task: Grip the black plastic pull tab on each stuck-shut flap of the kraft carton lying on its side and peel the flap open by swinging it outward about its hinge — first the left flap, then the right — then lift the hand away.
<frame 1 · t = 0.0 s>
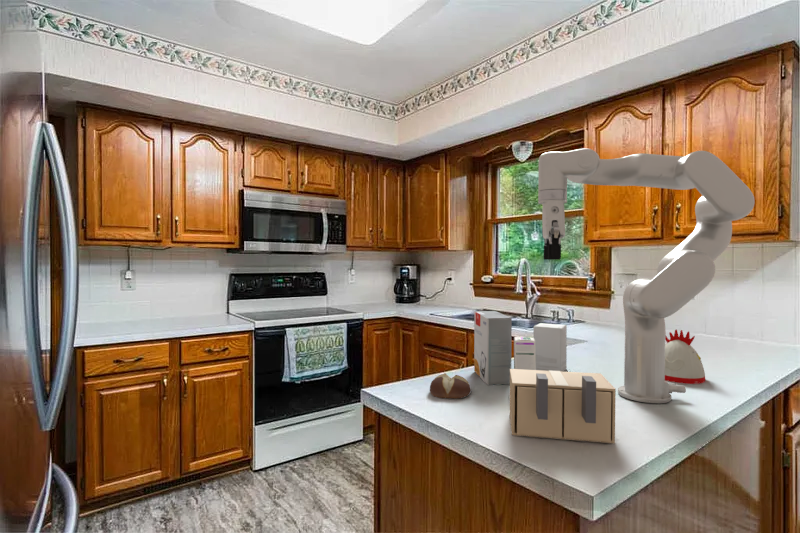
hand: (551, 259, 122), 37 cm above the countertop, tool pointing down, fingers open, 9 cm apart
supplement box: (550, 370, 145), on the countertop
carton: (557, 428, 95), on the countertop
syrup box: (524, 390, 124), on the countertop
flap right: (589, 411, 86), point 7 cm above the countertop, hinge at 0.0°
flap left: (540, 407, 88), point 7 cm above the countertop, hinge at 0.0°
hard drive box: (491, 378, 136), on the countertop
kitchen timer: (678, 378, 137), on the countertop
bread: (451, 394, 120), on the countertop
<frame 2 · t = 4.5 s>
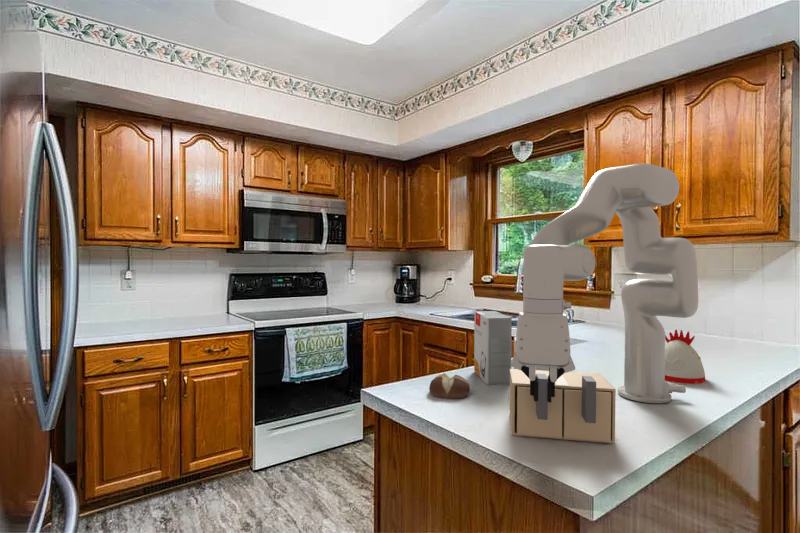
hand: (542, 399, 87), 9 cm above the countertop, tool pointing down, fingers closed on flap left, 2 cm apart
flap left: (540, 407, 88), point 7 cm above the countertop, hinge at 0.4°, touching gripper
everything else where it was.
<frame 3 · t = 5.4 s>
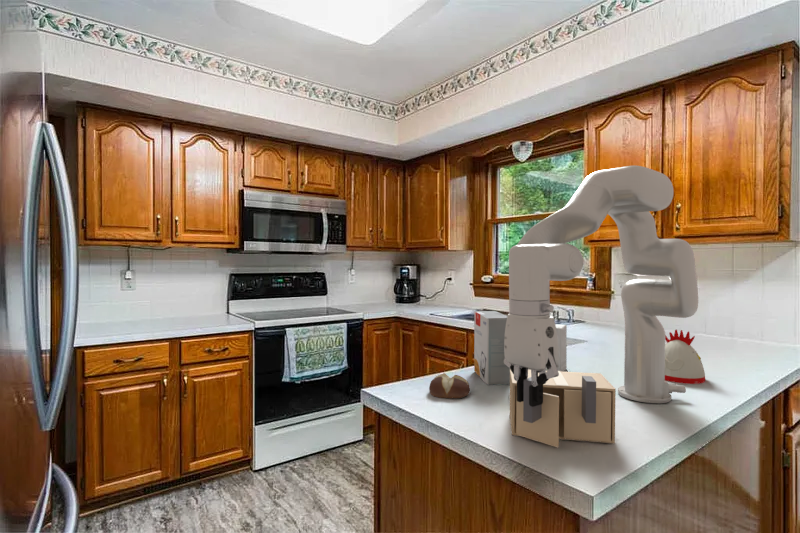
hand: (529, 401, 85), 9 cm above the countertop, tool pointing down, fingers closed on flap left, 2 cm apart
flap left: (532, 410, 86), point 7 cm above the countertop, hinge at 32.2°, touching gripper
everything else where it was.
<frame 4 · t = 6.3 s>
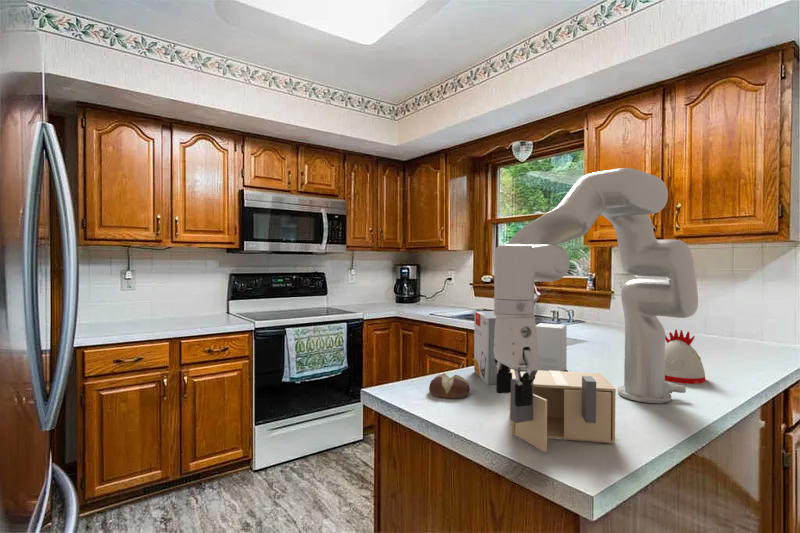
hand: (513, 398, 85), 10 cm above the countertop, tool pointing down, fingers open, 7 cm apart
flap left: (522, 411, 86), point 7 cm above the countertop, hinge at 55.7°
everything else where it was.
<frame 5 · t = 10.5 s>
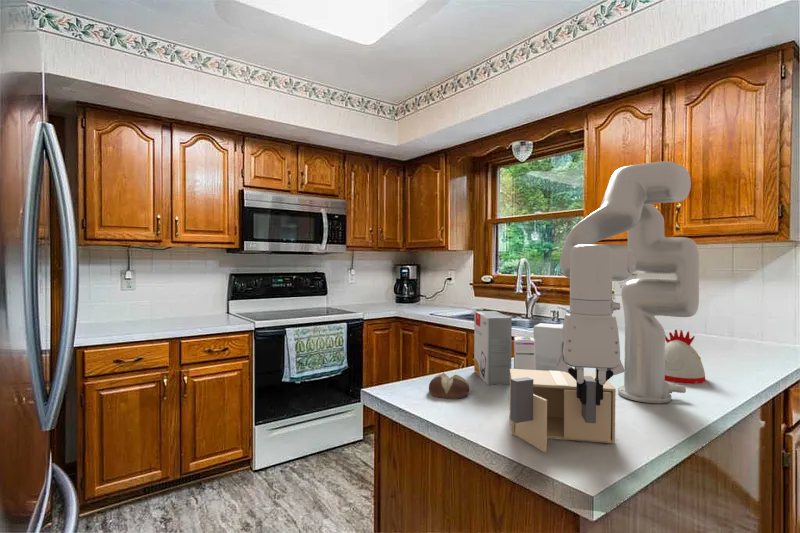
hand: (589, 402, 85), 9 cm above the countertop, tool pointing down, fingers closed on flap right, 2 cm apart
flap right: (589, 411, 86), point 7 cm above the countertop, hinge at 0.0°, touching gripper
everything else where it was.
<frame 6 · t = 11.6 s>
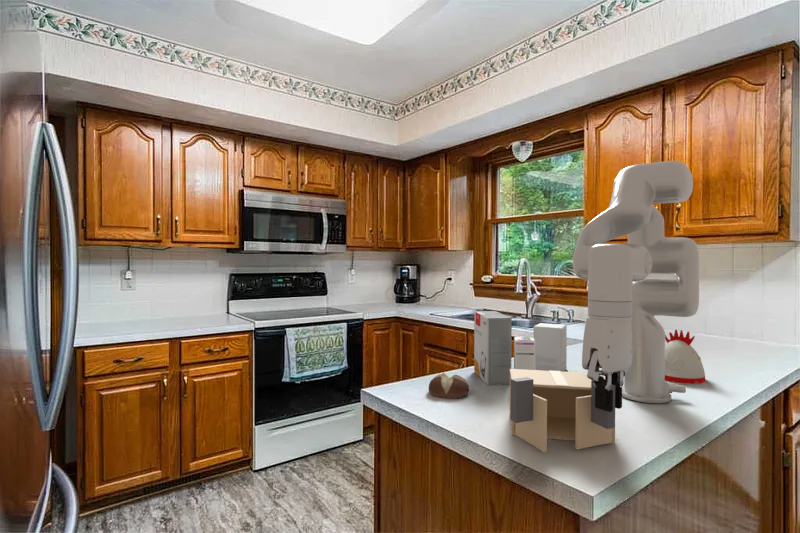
hand: (608, 407, 82), 9 cm above the countertop, tool pointing down, fingers closed on flap right, 2 cm apart
flap right: (602, 415, 83), point 7 cm above the countertop, hinge at 33.0°, touching gripper
everything else where it was.
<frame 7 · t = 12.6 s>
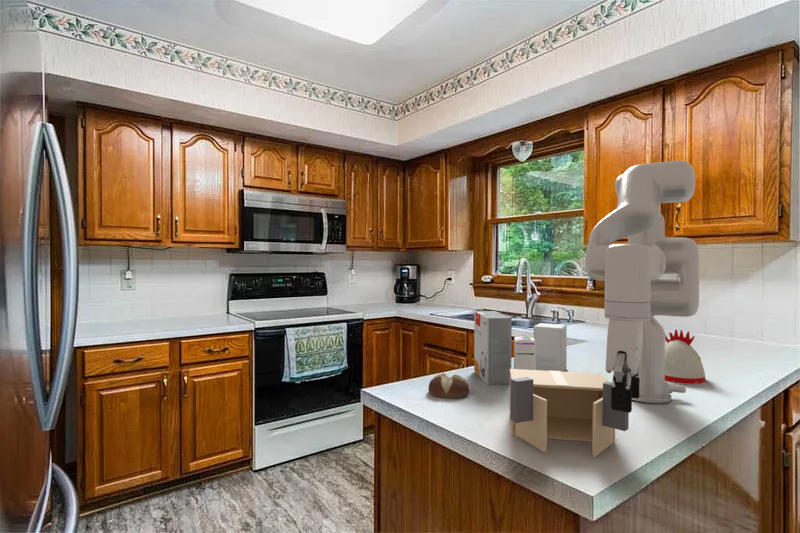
hand: (625, 403, 81), 10 cm above the countertop, tool pointing down, fingers open, 9 cm apart
flap right: (614, 418, 82), point 7 cm above the countertop, hinge at 55.9°
everything else where it was.
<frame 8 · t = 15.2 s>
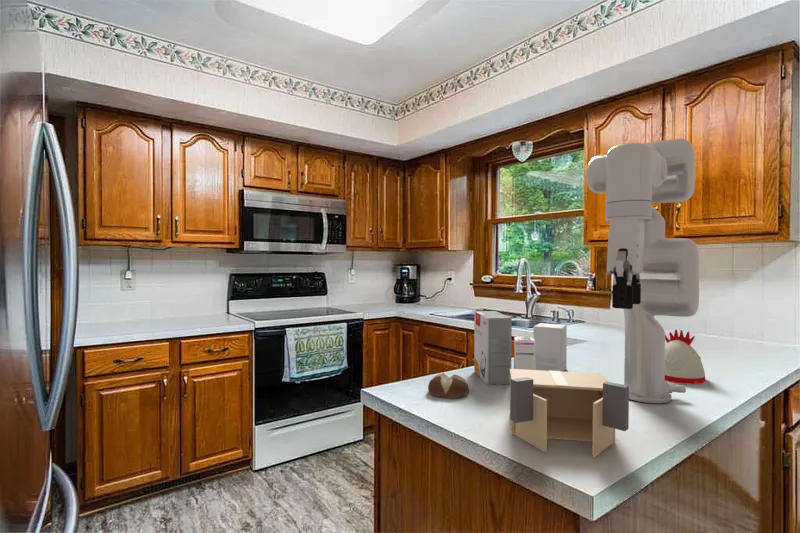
hand: (626, 305, 81), 28 cm above the countertop, tool pointing down, fingers open, 9 cm apart
nothing on the countertop moved.
at the end: flap left at +56° (first picture: +0°); flap right at +56° (first picture: +0°); the gripper is holding nothing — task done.
